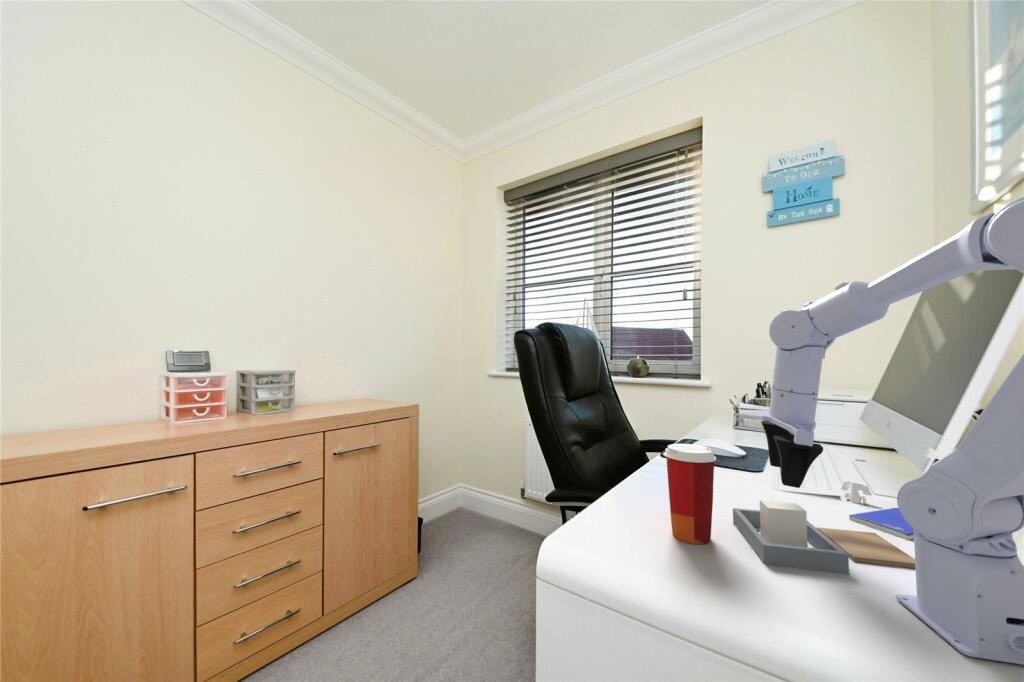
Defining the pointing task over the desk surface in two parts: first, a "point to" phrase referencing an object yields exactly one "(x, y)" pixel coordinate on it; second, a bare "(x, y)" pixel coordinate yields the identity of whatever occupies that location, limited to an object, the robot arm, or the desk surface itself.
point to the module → (783, 523)
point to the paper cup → (690, 491)
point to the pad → (868, 548)
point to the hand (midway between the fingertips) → (784, 475)
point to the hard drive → (885, 522)
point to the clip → (855, 491)
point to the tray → (815, 558)
